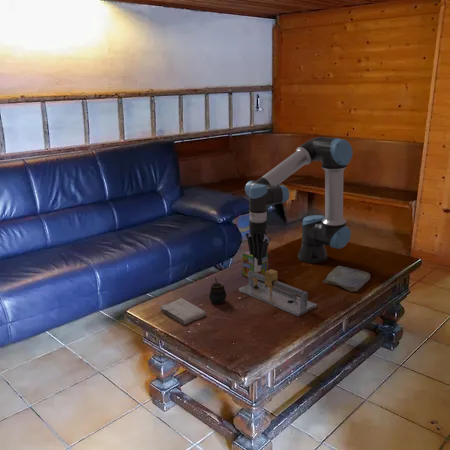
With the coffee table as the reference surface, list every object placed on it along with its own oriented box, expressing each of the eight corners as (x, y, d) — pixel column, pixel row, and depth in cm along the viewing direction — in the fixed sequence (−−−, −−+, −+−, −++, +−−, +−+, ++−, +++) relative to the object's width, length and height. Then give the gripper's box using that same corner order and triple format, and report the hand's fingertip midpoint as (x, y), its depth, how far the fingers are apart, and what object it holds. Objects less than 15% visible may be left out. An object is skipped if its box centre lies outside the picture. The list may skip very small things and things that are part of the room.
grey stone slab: (319, 286, 219) (354, 294, 209) (319, 277, 218) (354, 284, 208) (338, 274, 235) (371, 280, 224) (338, 265, 233) (372, 271, 223)
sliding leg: (270, 290, 210) (271, 269, 206) (277, 292, 207) (277, 271, 204) (264, 293, 207) (265, 271, 204) (271, 295, 204) (271, 274, 201)
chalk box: (241, 275, 230) (241, 247, 226) (254, 270, 236) (254, 242, 232) (255, 280, 224) (256, 251, 219) (268, 275, 230) (268, 246, 225)
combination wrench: (265, 281, 214) (299, 295, 199) (267, 281, 215) (301, 294, 200) (265, 289, 215) (298, 303, 200) (267, 288, 216) (300, 302, 201)
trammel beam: (257, 283, 221) (257, 267, 219) (316, 306, 197) (317, 289, 195) (238, 290, 213) (238, 274, 211) (298, 316, 189) (298, 298, 187)
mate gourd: (213, 306, 199) (212, 285, 196) (206, 299, 206) (205, 278, 203) (228, 303, 202) (228, 281, 199) (221, 296, 208) (221, 275, 205)
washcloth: (180, 302, 205) (180, 295, 204) (207, 316, 192) (207, 309, 191) (158, 311, 197) (157, 304, 196) (184, 326, 184) (184, 319, 183)
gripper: (241, 219, 205) (241, 269, 212) (263, 225, 196) (262, 277, 203) (253, 215, 210) (252, 265, 217) (275, 221, 201) (274, 272, 208)
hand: (257, 271), depth 210 cm, fingers closed
